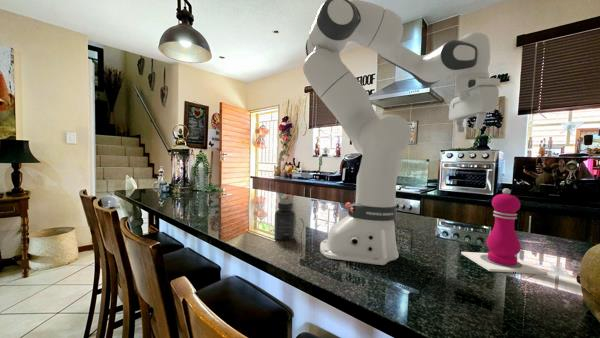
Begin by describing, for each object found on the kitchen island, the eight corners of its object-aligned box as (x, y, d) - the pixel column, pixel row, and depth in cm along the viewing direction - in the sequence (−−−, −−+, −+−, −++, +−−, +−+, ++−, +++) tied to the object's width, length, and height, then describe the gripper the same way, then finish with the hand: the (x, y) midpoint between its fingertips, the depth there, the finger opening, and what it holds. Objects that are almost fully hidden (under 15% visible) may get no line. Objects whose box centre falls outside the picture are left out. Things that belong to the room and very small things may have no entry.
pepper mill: (526, 268, 64) (531, 190, 64) (494, 265, 66) (499, 188, 65) (509, 257, 71) (513, 187, 71) (480, 255, 73) (484, 186, 72)
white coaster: (489, 271, 63) (489, 268, 63) (461, 253, 75) (461, 251, 75) (547, 274, 63) (547, 271, 63) (509, 256, 75) (509, 253, 75)
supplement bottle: (273, 235, 87) (274, 200, 86) (292, 234, 88) (294, 200, 88) (274, 241, 80) (276, 204, 80) (296, 241, 81) (297, 204, 81)
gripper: (444, 95, 92) (442, 133, 92) (481, 77, 71) (478, 126, 72) (462, 96, 91) (460, 134, 92) (504, 77, 71) (501, 126, 71)
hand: (468, 130), depth 81 cm, fingers open, 8 cm apart
